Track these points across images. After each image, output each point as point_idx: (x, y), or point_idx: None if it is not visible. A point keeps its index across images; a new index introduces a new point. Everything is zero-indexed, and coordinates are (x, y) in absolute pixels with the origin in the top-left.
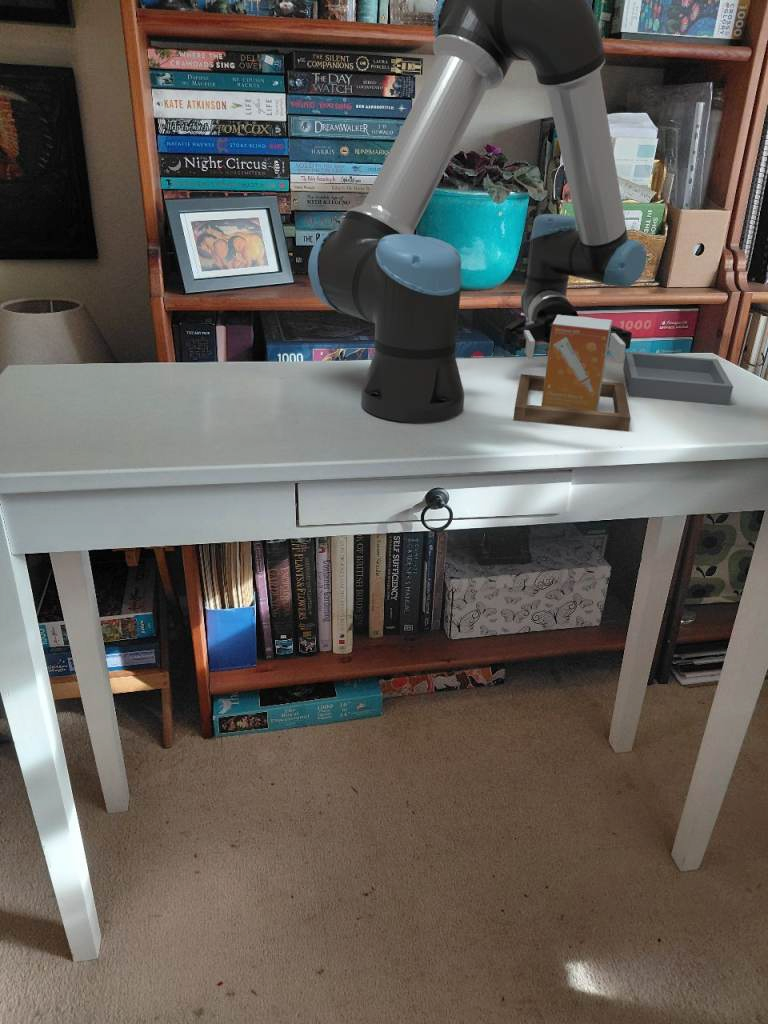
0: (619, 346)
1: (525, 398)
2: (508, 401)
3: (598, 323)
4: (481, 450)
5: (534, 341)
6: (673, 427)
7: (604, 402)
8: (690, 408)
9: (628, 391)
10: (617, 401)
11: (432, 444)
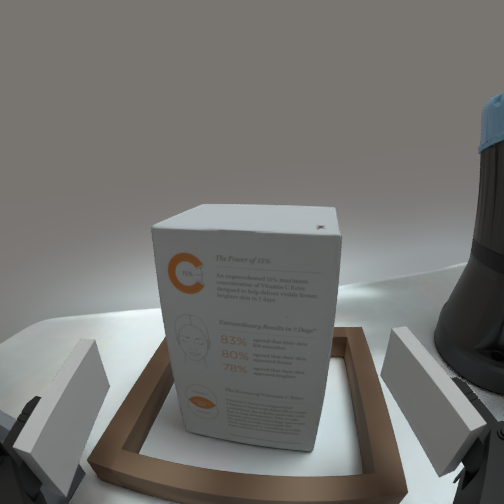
0: (94, 354)
1: (354, 356)
2: (391, 411)
3: (212, 211)
4: (366, 289)
5: (393, 328)
6: (102, 349)
7: (165, 442)
8: (17, 402)
9: (75, 482)
10: (166, 367)
11: (414, 290)
